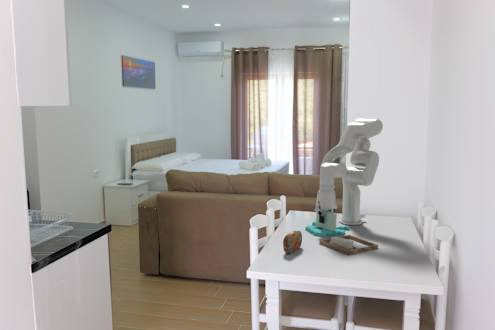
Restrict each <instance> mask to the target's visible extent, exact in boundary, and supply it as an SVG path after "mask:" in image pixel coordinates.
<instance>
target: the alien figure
mask: <svg viewBox="0 0 495 330" xmlns="http://www.w3.org/2000/svg"><path fill="white" fill-rule="evenodd" d="M349 230H350V225H344V226H342V225H340V226H336V231H329V230H327V229H324V228H321V227H318V226H316V220H315V221H312V225H311V224H310V225H309V224H308V225H306V226H305V231H307V232H308V233H310V234H312V235H313V236H317V237H334V236H335V237H339V236H345V234H346V231H349Z"/></svg>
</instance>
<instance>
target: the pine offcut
mask: <svg viewBox="0 0 495 330" xmlns="http://www.w3.org/2000/svg"><path fill="white" fill-rule="evenodd" d="M329 244H331V245H334V246H336V247H339V248H341V249H344V250H347V251H350V250H353V247H354V246H353V247H351V248H349V247H345V246H341V245H337V244H333V243H331V241H330V242H329Z"/></svg>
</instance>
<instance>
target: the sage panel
mask: <svg viewBox="0 0 495 330" xmlns="http://www.w3.org/2000/svg"><path fill="white" fill-rule="evenodd" d="M321 213H322V211H321ZM337 215H338V213H337V212H330V211H328V210H325V211H324V215H323V216H324V224H322V223H319V215H318V213H317V212H316V216H315V217H316V218H315V222H316V226H318V227H321V228H324V229H327V230H329V231H336V227H337Z"/></svg>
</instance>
